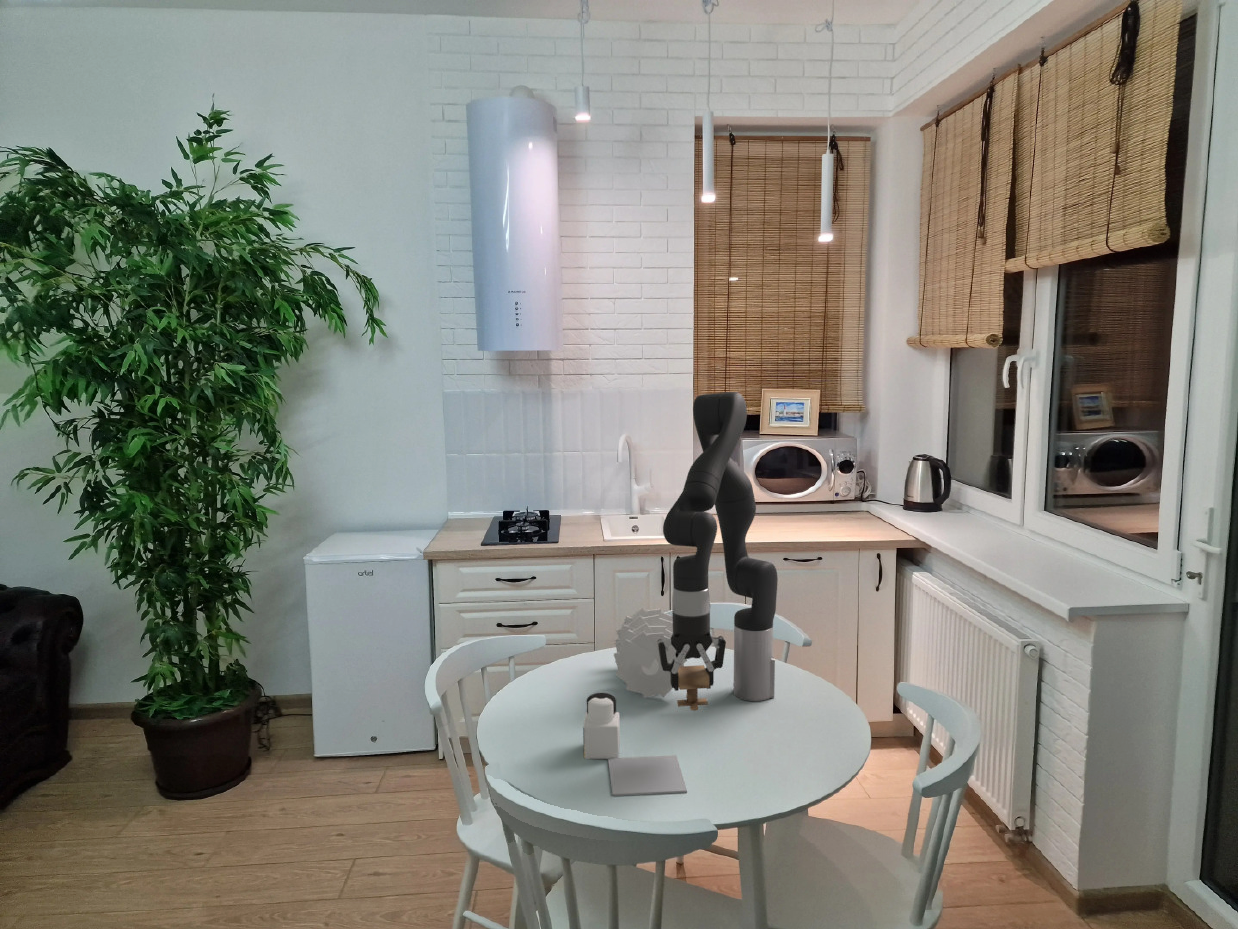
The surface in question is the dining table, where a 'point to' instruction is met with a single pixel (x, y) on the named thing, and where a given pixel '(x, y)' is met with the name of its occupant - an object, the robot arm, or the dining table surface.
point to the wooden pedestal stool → (692, 685)
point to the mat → (646, 775)
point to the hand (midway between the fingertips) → (691, 688)
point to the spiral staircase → (644, 652)
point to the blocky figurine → (601, 727)
